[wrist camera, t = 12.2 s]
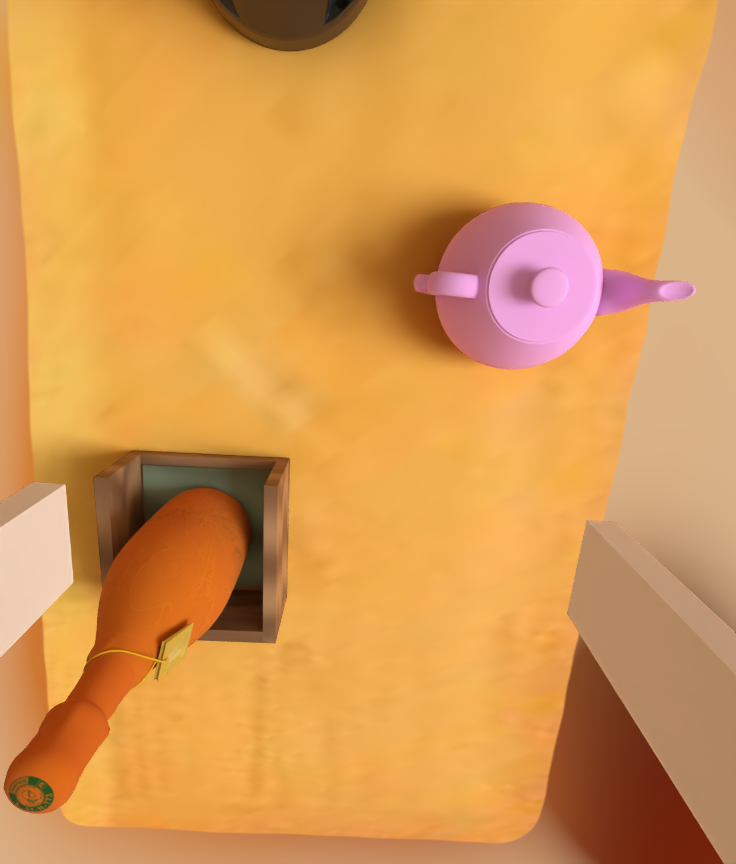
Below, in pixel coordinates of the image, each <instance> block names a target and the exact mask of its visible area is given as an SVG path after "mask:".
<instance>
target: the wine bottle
mask: <svg viewBox="0 0 736 864" xmlns="http://www.w3.org/2000/svg"><path fill="white" fill-rule="evenodd" d="M250 542H251V524H250V520H249V518H248V515H247V513H246V511H245V510H244V508H243V507H242V506H241V504H240V503H239V502H238V501H237V500H235V499H234V498H233V497H231V496H230V495H228V494H226V493H224V492H222V491H219V490H216V489H212V488H194V489H190V490H186V491H184V492H181V493H180V494H178V495H176V496H175V497H173V498H172V499H171V500H169V501H168V502H167V503H166V504H165V505H164V506H163V507H162V508H160V509H159V510H158V511H157V512H156V513H155V514H154V515H153V516H152V517H151V518H150V519H149V520H148V521H147V522H146V523H145V524H144V525H143V526H142V527H141V528H140V529H139V530H138V531H137V532H136V533H135V535H134V536H133V537H132V538H131V539H130V540H129V541H128V542H127V543H126V545H125V546H124V547H123V548H122V550H121V551H120V552H119V554H118V555H117V556H116V558H115V560H114V561H113V563H112V565H111V567H110V569H109V571H108V574H107V576H106V579H105V582H104V585H103V589H102V592H101V596H100V601H99V608H98V617H97V631H96V640H95V645H94V647H93V648H92V650H91V652H90V653H89V655H88V657H87V663H86V665H85V667H84V670H83V674H82V676H81V678H80V680H79V681H78V683H77V685H76V686H75V688H74V689H73V691H72V692H71V693H70V695H69V696H68V698H67V699H66V701H65V702H63V703H60V704H58V705H56V706H55V707H54V708H52V709H51V710H50V711H49V712H48V714H47V715H46V717H45V719H44V720H43V722H42V724H41V726H40V728H39V731H38V733H37V735H36V736H35V737H34V738H33V739H32V741H31V742H30V743H29V744H28V746H27V747H26V748H25V749H24V750H23V751H22V752H21V753H20V754H19V755H18V756H17V757H16V758H15V759H14V761H13V762H12V763H11V765H10V767H9V769H8V772H7V775H6V779H5V782H4V790H5V793H6V795H7V797H8V799H9V800H10V801H11V803H12V804H13V805H14V806H16V807H17V808H19V809H21V810H23V811H26V812H30V813H37V814H39V813H48V812H52V811H54V810H56V809H57V808H59V807H60V806H62V805H63V804H64V803H65V802H67V800H68V799H69V798H70V796H71V795H72V793H73V791H74V790H75V788H76V785H77V783H78V780H79V778H80V776H81V774H82V772H83V770H84V768H85V767H86V765H87V764H88V762H89V761H90V759H91V758H92V756H93V755H94V753H95V752H96V750H97V749H98V747H99V746H100V745H101V744H102V742H103V741H104V740H105V739H106V737H107V736H108V734H109V731H110V728H109V725H108V722H107V720H108V719H109V718H110V717H111V716H112V714H113V713H114V711H115V710H116V708H117V706H118V704H119V703H120V702H121V701H122V699H123V698H124V696H125V695H126V694H127V693H128V692H129V691H130V690H132V689H134V688H136V687H137V686H138V685H139V684H140V683H142V682H143V680H144V679H145V678H146V677H147V676H148V674H149V673H150V672H151V670H152V669H154V668H155V667H156V671H155V675H154V679H157V681H158V680H160V679H161V678H162V677H163V676H164V675H165V674H167V673H168V672H169V671H170V670H171V669H172V668H173V667H175V666H176V665H177V664H178V663H179V662H180V661H182V660H183V659H184V658H185V656H186V652H187V648H188V647H189V646H190V645H191V644H193V643H194V642H195V641H196V640H198V639H199V638H200V637H201V636H202V635H203V634H204V633H205V632H206V631H207V630H208V629H209V628H210V627H211V626H212V625H213V623H214V622H215V621H216V620H217V618H218V617H219V616H220V614H221V612H222V611H223V609H224V607H225V606H226V604H227V602H228V600H229V597H230V595H231V593H232V591H233V589H234V586H235V584H236V582H237V579H238V577H239V574H240V572H241V569H242V566H243V564H244V561H245V558H246V556H247V553H248V550H249V546H250Z"/></svg>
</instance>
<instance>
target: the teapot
mask: <svg viewBox="0 0 736 864" xmlns="http://www.w3.org/2000/svg"><path fill="white" fill-rule="evenodd" d="M414 289H415V291H417V292H421V293H425V294H430V295H435V299H436V308H437V312H438V316H439V319H440V322H441V324H442V327H443V329H444V330H445V332H446V334H447V336H448V337H449V338H450V340H451V341H452V342H453V344H454V345H455V346H456V347H457V348H458V349H459V350H460V351H461V352H463V353H464V354H465V355H467V356H468V357H470V358H471V359H473V360H475V361H477V362H479V363H482V364H485V365H487V366H491V367H495V368H501V369H523V368H529V367H534V366H537V365H541V364H543V363H546V362H548V361H550V360H553V359H555V358H556V357H558V356H560V355H562V354H563V353H564V352H566V351H567V350H568V349H570V348H571V347H572V346H573V345H574V344H575V343H576V342H577V341H578V340H579V339H580V338H581V337H582V336H583V334H584V333H585V332H586V331H587V329H588V328H589V326H590V324H591V323H592V321H593V319H594V317H595V316H599V315H605V314H613V313H618V312H622V311H625V310H628V309H631V308H634V307H636V306H639V305H642V304H646V303H651V302H658V301H675V300H681V299H685V298H688V297H690V296H692V295H693V294H694V293H695V291H696V289H695V287H694V286H693V285H692V284H690V283H687V282H682V281H657V280H650V279H646V278H642V277H639V276H637V275H634V274H631V273H628V272H624V271H618V270H609V269H602V263H601V259H600V255H599V252H598V250H597V247H596V245H595V243H594V241H593V240H592V238H591V237H590V235H589V234H588V232H587V231H586V230H585V229H584V228H583V227H582V225H581V224H580V223H578V222H577V221H576V220H575V219H574V218H573V217H571V216H569V215H568V214H566V213H565V212H563V211H560V210H558V209H556V208H553V207H550V206H547V205H543V204H537V203H527V202H526V203H511V204H505V205H501V206H498V207H495V208H492V209H490V210H488V211H486V212H484V213H481V214H480V215H478V216H477V217H475V218H473V219H472V220H471V221H469V222H468V223H467V224H466V225H465V226H463V227H462V228H461V230H460V231H459V232H458V233H457V234H456V235H455V236H454V238H453V239H452V240H451V242H450V243H449V245H448V247H447V249H446V250H445V252H444V254H443V257H442V259H441V262H440V264H439V268H438V271H434V272H432V273H431V274H430V275H428V274H418V275H417V276H416V277H415V279H414Z"/></svg>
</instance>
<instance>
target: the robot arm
mask: <svg viewBox="0 0 736 864" xmlns="http://www.w3.org/2000/svg"><path fill="white" fill-rule="evenodd" d="M212 1H213V3H214V4H215V6H216V8H217V9H218V10H219V12H220V13H221V14H222V16H223V17H224V18H225V19H226V20H227V21H228V22H229V23H230V24H231V25H232V26H233V27H234V28H235V29H236V30H237V31H239V32H240V33H241V34H243V35H244V36H245V37H247V38H249V39H250V40H252V41H254V42H256V43H258V44H260V45H263V46H266V47H269V48H272V49H277V50H284V51H300V50H307V49H311V48H314V47H317V46H320V45H322V44H325V43H327V42H329V41H330V40H332V39H334V38H335V37H337V36H338V35H339V34H341V33H342V32H343V31H344V30H345V29H347V28H348V27H349V26H350V24H351V23H352V22H353V21H354V20H355V19H356V18H357V16H358V15H359V13H360V12H361V10H362V9H363V7H364V5H365V4H366V2H367V0H212ZM72 583H73V569H72V557H71V545H70V533H69V521H68V509H67V497H66V485H65V484H58V483H43V482H33V483H31V484H30V485H28V486H26V487H24V488H23V489H21V490H19V491H18V492H16V493H14V494H13V495H11V496H9V497H8V498H6V499H5V500H3V501H1V502H0V657H1V656H2V655H3V654H4V653H5V652H6V651H7V650H8V649H9V648H10V647H11V646H12V645H13V644H14V643H15V642H16V641H17V640H18V639H19V638H20V636H22V635H23V634H24V633H25V632H26V631H27V630H28V628H29V627H30V626H31V625H32V624H33V623H34V622H35V621H36V620H37V619H38V618H39V617H40V616H41V615H42V614H43V613H44V612H45V611H46V610H47V609H48V608H49V607H50V606H51V605H52V604H53V603H54V602H55V601H56V600H57V599H58V598H59V597H60V596H61V595H62V594H63V593H64V592H65V591H66V590H67V589H68V587H69V586H70V585H71V584H72ZM567 614H568V616H569V618H570V619H571V621H572V622H573V624H574V625H575V627H576V629H577V630H578V632H579V633H580V635H581V636H582V638H583V640H584V641H585V643H586V645H587V646H588V648H589V649H590V651H591V652H592V654H593V656H594V657H595V659H596V661H597V662H598V663H599V665H600V667H601V668H602V670H603V672H604V673H605V675H606V676H607V678H608V680H609V681H610V683H611V684H612V686H613V688H614V689H615V691H616V692H617V694H618V696H619V697H620V699H621V700H622V702H623V703H624V705H625V706H626V708H627V710H628V711H629V713H630V714H631V716H632V718H633V719H634V721H635V723H636V724H637V726H638V727H639V729H640V730H641V732H642V734H643V735H644V737H645V738H646V740H647V742H648V743H649V745H650V746H651V748H652V750H653V751H654V753H655V754H656V756H657V757H658V759H659V761H660V762H661V764H662V766H663V767H664V769H665V770H666V772H667V774H668V775H669V777H670V778H671V780H672V782H673V783H674V785H675V786H676V788H677V789H678V791H679V793H680V794H681V796H682V797H683V799H684V801H685V802H686V804H687V805H688V807H689V808H690V810H691V812H692V813H693V815H694V816H695V818H696V820H697V821H698V823H699V825H700V826H701V828H702V829H703V831H704V832H705V834H706V836H707V837H708V839H709V840H710V842H711V844H712V845H713V847H714V848H715V850H716V851H717V853H718V855H719V856H720V858H721V860H722V861H723V863H724V864H736V632H734V631H733V630H732V629H731V628H730V627H729V626H728V625H727V624H725V623H724V622H723V621H722V620H721V619H720V618H719V617H718V616H717V615H716V614H714V613H713V611H711V610H710V609H709V608H708V607H707V606H706V605H705V604H704V603H703V602H702V601H701V600H699V599H698V598H697V597H696V596H695V595H694V594H693V593H692V592H691V591H690V590H689V589H688V588H686V586H684V585H683V584H682V583H681V582H680V581H679V580H678V579H677V578H676V577H675V576H674V575H673V574H671V573H670V572H669V571H668V570H667V569H666V568H665V567H664V566H663V565H662V564H661V563H659V561H657V560H656V559H655V558H654V557H653V556H652V555H651V554H650V553H649V552H648V551H647V550H645V549H644V548H643V547H642V546H641V545H640V544H639V543H638V542H637V541H636V540H635V539H634V538H633V537H631V536H630V535H629V534H628V533H627V532H626V531H625V530H624V529H623V528H622V527H621V526H620V525H619V524H617V523H616V522H604V521H590V520H587V522H586V526H585V531H584V536H583V541H582V545H581V550H580V555H579V560H578V564H577V569H576V574H575V578H574V583H573V588H572V593H571V597H570V602H569V607H568V611H567Z"/></svg>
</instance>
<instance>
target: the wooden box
mask: <svg viewBox="0 0 736 864" xmlns="http://www.w3.org/2000/svg"><path fill="white" fill-rule="evenodd" d="M289 472H290V458H274V457H254V456H234V455H214V454H194V453H174V452H154V451H132V452H130V453H129V454H127V455H126V456H124V457H123V458H121V459H120V460H118V461H117V462H115V463H114V464H113V465H111V466H110V467H108V468H107V469H105V470H104V471H102V472H101V473H99V474H98V475H96V476H95V477H93V479H94V492H95V504H96V516H97V529H98V541H99V554H100V566H101V579H102V589H103V585H104V582H105V579H106V576H107V574H108V571H109V569H110V567H111V565H112V563H113V561H114V560H115V558H116V556H117V555H118V554H119V552H120V551H121V550H122V548H123V547H124V546H125V545H126V543H127V542H128V541H129V540H130V539H131V538H132V537H133V536H134V535H135V533H136V532H137V531H138V530H139V529H140V528H141V527H142V526H143V525H144V524H145V523H146V522H147V521H148V520H149V519H150V518H151V517H152V516H153V515H154V514H155V513H156V512H157V511H158V510H159V509H160V508H162V507H163V506H164V505H165V504H166V503H167V502H168V501H169V500H171V499H172V498H173V497H175V496H176V495H178V494H180V493H181V492H184V491H186V490H190V489H194V488H212V489H216V490H219V491H222V492H224V493H226V494H228V495H230V496H231V497H233V498H234V499H235V500H237V501H238V502H239V503H240V504H241V506H242V507H243V508H244V510H245V511H246V513H247V515H248V518H249V520H250V524H251V542H250V546H249V550H248V553H247V556H246V558H245V561H244V564H243V566H242V569H241V572H240V574H239V577H238V579H237V582H236V584H235V586H234V589H233V591H232V593H231V595H230V597H229V600H228V602H227V604H226V606H225V607H224V609H223V611H222V612H221V614H220V616H219V617H218V618H217V620H216V621H215V622H214V623H213V625H212V626H211V627H210V628H209V629H208V630H207V631H206V632H205V633H204V634H203V635H202V636H201V637H200V638H199V639H198V640H204V641H230V642H255V643H276V639H277V635H278V631H279V626H280V622H281V618H282V614H283V610H284V606H285V602H286V598H287V570H288V521H289Z"/></svg>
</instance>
